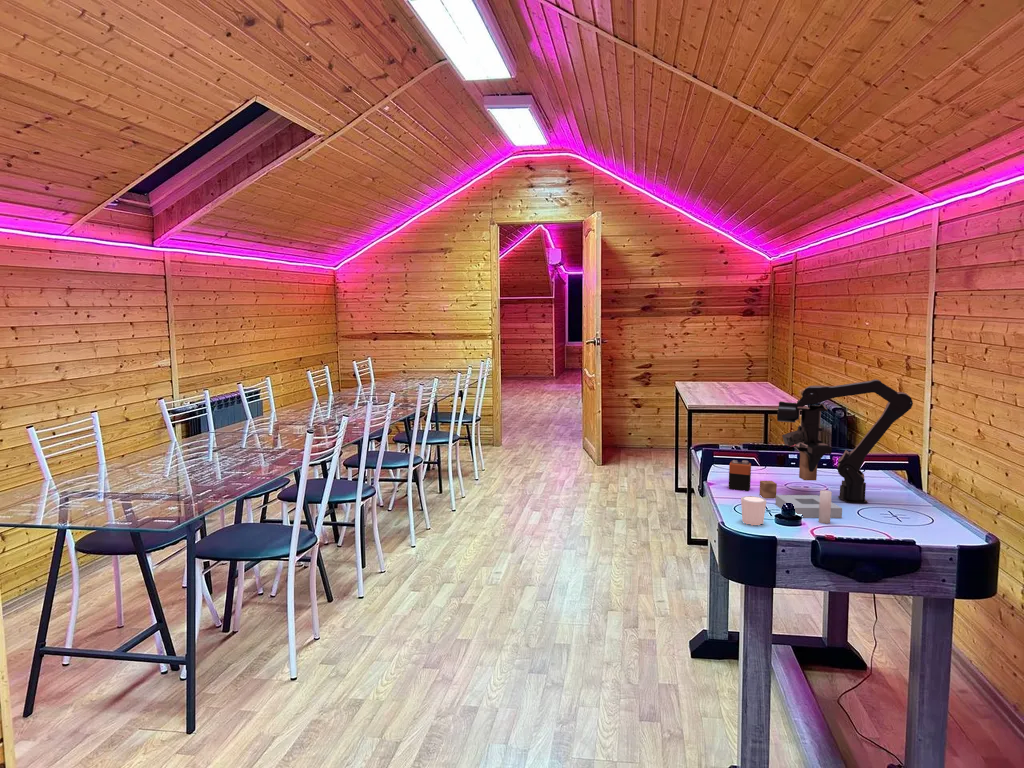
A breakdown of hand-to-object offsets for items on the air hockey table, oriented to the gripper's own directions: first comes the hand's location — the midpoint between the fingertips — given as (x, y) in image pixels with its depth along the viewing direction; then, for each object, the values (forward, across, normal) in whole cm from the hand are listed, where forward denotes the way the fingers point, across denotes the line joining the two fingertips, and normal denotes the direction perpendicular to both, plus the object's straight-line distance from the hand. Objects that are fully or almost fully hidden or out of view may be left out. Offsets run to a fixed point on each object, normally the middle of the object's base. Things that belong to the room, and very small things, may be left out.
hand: (808, 469), depth 213 cm
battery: (+9, -8, -20) cm, 23 cm away
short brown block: (+9, +2, -14) cm, 17 cm away
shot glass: (+9, +30, -29) cm, 43 cm away
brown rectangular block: (+3, 0, 0) cm, 3 cm away
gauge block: (+9, +21, -8) cm, 24 cm away
